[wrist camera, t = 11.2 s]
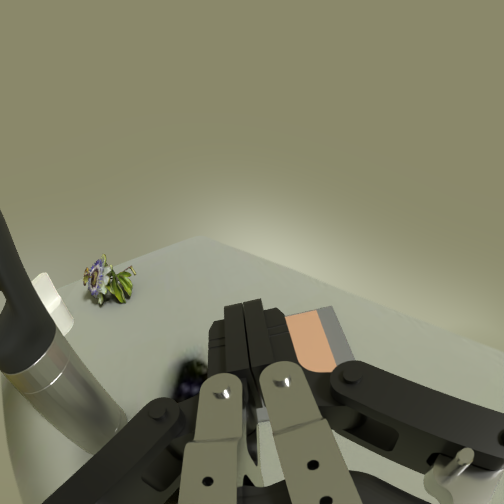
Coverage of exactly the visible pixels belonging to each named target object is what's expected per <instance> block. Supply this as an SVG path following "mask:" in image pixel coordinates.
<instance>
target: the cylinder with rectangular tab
mask: <svg viewBox="0 0 504 504" xmlns="http://www.w3.org/2000/svg"><path fill="white" fill-rule="evenodd" d="M31 283H32V285H33V287H34V288H35V290H36V292H37V294H38V296H39V297H40V299H41V301H42V303H43V304H44V306H45V308H46V309H47V311H48V313H49V314H50V316H51V317H52V319H53V320H54V322H55V324H56V325H57V327H58V328H59V330H60V331H61V333H62V334H63V336H64V335H65V334H67V333H68V332H69V330H70V329H71V328H72V326H73V323H74V319H73V317H72V315H71V314H70V312H69V310H68V309H67V307H66V305H65V303H64V302H63V300H62V298H61V297H60V296H59V294H58V292H57V291H56V289H55V287H54V285H53V283H52V281H51V280H50V278H49V276H48V274H47V273H41V274H39V275H38V276H37V277H36V278H35V279H34V280H33V281H32V282H31Z"/></svg>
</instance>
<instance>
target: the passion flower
mask: <svg viewBox="0 0 504 504" xmlns="http://www.w3.org/2000/svg"><path fill="white" fill-rule="evenodd" d="M94 264H95V265H93V266H92V267H91V270H90V272H91V275H90V273H88V268H86V270H85V273H84V278H83V281H84V282H83V283H84V286H85V285H86V282H87V281H89V282H88V286H89V287H88V289H89V291H91V294H92V296H94V297H95V298H98V304H101V305H102V304H103V302H104V295H105V294H107V292H108V290H109V291H110V292H111V293H112V294H115V296H116V297H117V299H118V300H119V301H120V302H121V303H126V300H125V297H124V293H123V290H122V289H121V287H120V285H119V284H118V281H120V283H121V284H122V286H123V287H124V289H125V291H126V292H127V293H128V295H129V296H130V297H131V293H132V283H131V281H130V279H128V278H126V277H130V276H131V274H130V273H128V272H125V270H127V269H128V268H130V269H131V270H132V271H133V273H134V275H136V272H135V271H134V269H133V267H132V266H130V267H128V268H127V269H125V270H124V271H123V272H120V273H119V274H117V275H116V274H115V272H114V271H113V267H112V265H107V263H106V255H105V254H103V255H102V258H101V259H98V260H97V261H96V263H94ZM111 276H113V277H112V278H110V277H111ZM110 279H113V280H112V282H111V283H110Z"/></svg>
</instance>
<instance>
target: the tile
mask: <svg viewBox="0 0 504 504" xmlns="http://www.w3.org/2000/svg"><path fill="white" fill-rule="evenodd" d="M285 319H286V322H287V326H288V329H289V333H290V335H291V339H292V342H293V345H294V349H295V352H296V355H297V359H298V361H299V363H300V364H301V365H302V366H303V367H304V368H306V369H308V370H310V371H314V372H332V371H333V369H334V368H335V367H336V363H335V360H334V357H333V354H332V352H331V349H330V346H329V343H328V340H327V338H326V335H325V332H324V330H323V327H322V324H321V321H320V319H319V316H318V313H317V311H316V310H315V311H310V312H306V313H301V314H296V315H292V316H287V317H285Z"/></svg>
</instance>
